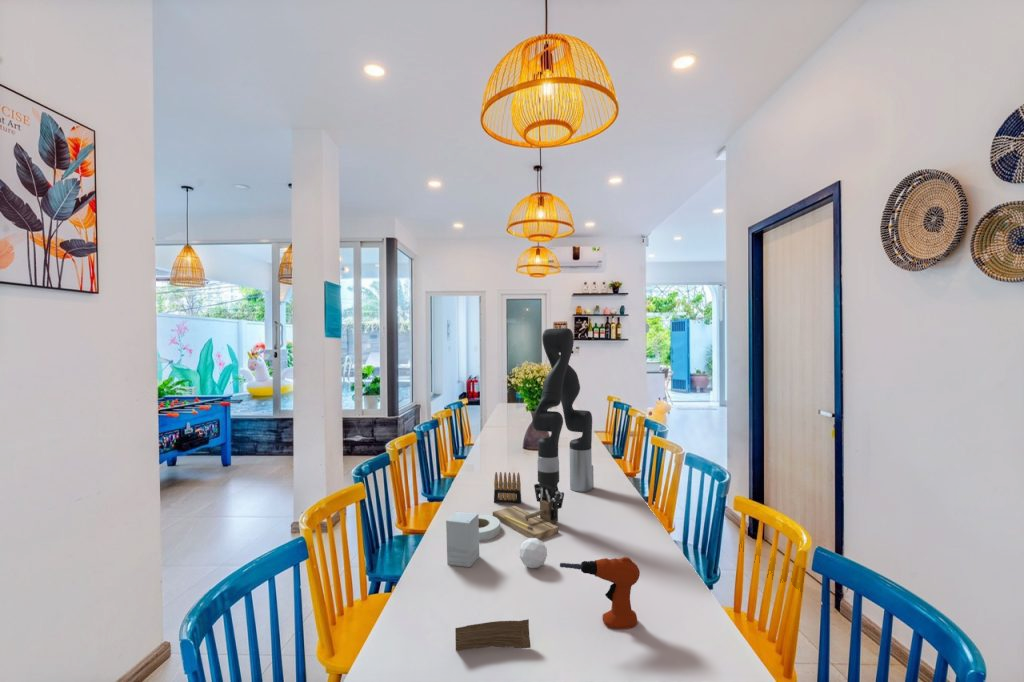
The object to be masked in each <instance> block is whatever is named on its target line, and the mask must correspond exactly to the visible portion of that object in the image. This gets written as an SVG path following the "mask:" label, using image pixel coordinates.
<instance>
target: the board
mask: <svg viewBox="0 0 1024 682" xmlns="http://www.w3.org/2000/svg"><path fill="white" fill-rule="evenodd" d="M531 513H532V512H529V511H528V510H525V509H523V508H521V507H519V506H516V505H512V506H508V507H506V508H502V509H498V510H494V511H492V516H494V517H496V518H498V519H499V521H500V524H504V525H505V526H506V527H509V528H510V529H512V530H514V531H516V532H518V533H519V534H522V535H523V536H524V537H526V538H527V539H529V538H537V539H539V540H542V539H544V538H548V537H551V536H554V535H556V534H559V526H557V525H555V524H554V523H549V522H547V521H545V520H543V519H541V518H540V516H536V517H533V518H529V519H528V521H526V519H525V515H527V514H531ZM505 515H507V516H509V517H511V518H513V519H516V520H518V521H520V522H522V523H525V524H527V525H529V526H531V527H533V530H529V529H527V528H525V527H523V526H520V525H518V524H516V523H514V522H512V521H509V520H507V519H505V518H504V516H505Z"/></svg>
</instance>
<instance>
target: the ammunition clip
mask: <svg viewBox="0 0 1024 682" xmlns="http://www.w3.org/2000/svg"><path fill="white" fill-rule="evenodd" d="M507 476H508V477H507ZM521 483H522V482H521V474H520V473H519V472H517V474H516V473H515V472H512V475H511V471H509V472H508V475H507V472H506V471H504V474H503V473H502V472H501V471H500V472H499V475H498V472H497V471H495V473H494V482H493V485H494V486H493V487H494V489H493V490H494V491H493V504H519V505H521V503H522V491H521V490H522V487H521V486H522V485H521Z"/></svg>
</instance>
